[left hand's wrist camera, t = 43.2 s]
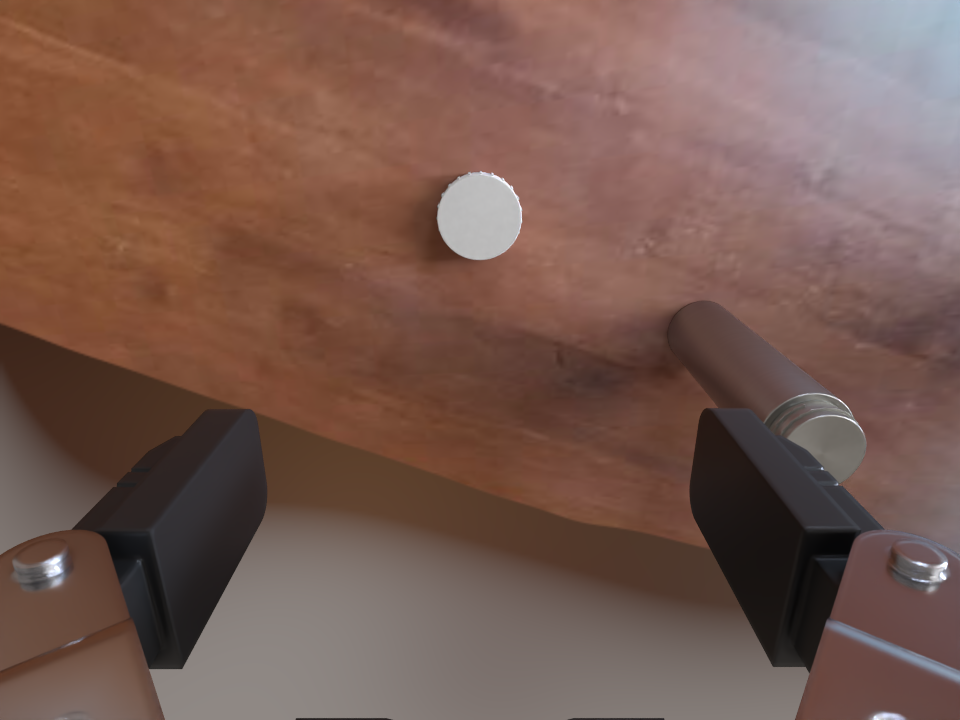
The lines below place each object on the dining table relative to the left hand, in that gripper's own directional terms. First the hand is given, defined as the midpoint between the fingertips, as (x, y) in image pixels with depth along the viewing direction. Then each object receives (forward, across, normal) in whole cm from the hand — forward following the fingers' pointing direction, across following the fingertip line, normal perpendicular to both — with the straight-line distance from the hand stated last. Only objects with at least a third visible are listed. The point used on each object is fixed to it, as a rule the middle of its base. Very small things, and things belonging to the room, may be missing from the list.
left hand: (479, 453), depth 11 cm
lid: (+28, 0, 0) cm, 28 cm away
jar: (+30, +15, -8) cm, 34 cm away
